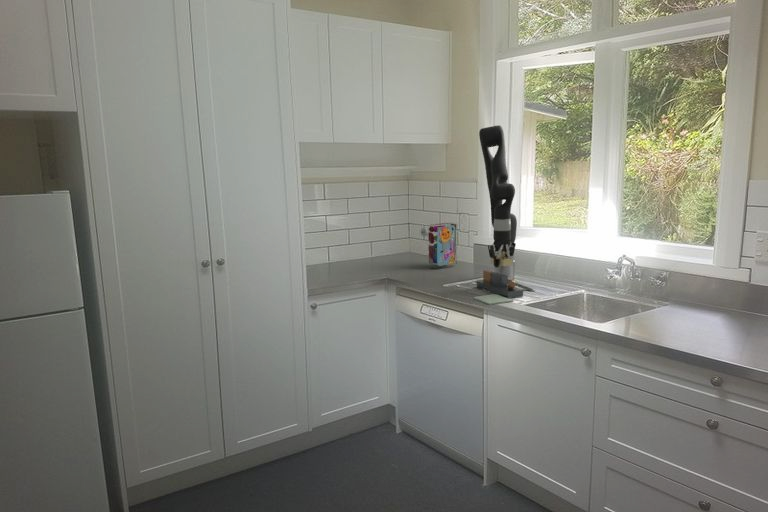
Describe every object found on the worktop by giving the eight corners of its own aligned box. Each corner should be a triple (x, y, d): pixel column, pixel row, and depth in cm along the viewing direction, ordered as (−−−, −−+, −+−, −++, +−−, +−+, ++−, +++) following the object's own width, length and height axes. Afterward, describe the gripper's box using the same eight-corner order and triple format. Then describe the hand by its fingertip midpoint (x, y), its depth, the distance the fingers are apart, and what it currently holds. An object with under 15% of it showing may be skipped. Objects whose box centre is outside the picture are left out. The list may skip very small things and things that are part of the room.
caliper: (495, 285, 265) (495, 272, 264) (496, 285, 266) (497, 272, 265) (534, 292, 251) (535, 278, 250) (535, 291, 252) (536, 278, 251)
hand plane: (490, 285, 264) (491, 269, 262) (523, 296, 242) (523, 278, 241) (476, 287, 261) (477, 270, 259) (507, 298, 239) (508, 280, 238)
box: (424, 272, 296) (424, 226, 292) (416, 270, 301) (416, 225, 297) (457, 266, 311) (457, 223, 307) (449, 264, 316) (449, 222, 312)
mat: (496, 295, 245) (496, 294, 245) (513, 301, 234) (513, 300, 234) (473, 298, 240) (473, 297, 240) (489, 304, 229) (489, 303, 229)
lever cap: (499, 261, 254) (500, 252, 253) (512, 265, 246) (512, 255, 245) (490, 262, 252) (491, 253, 251) (503, 266, 244) (503, 256, 243)
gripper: (509, 226, 253) (509, 263, 256) (483, 229, 247) (483, 266, 250) (520, 228, 246) (519, 266, 249) (494, 231, 240) (493, 269, 243)
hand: (501, 266), depth 249 cm, fingers closed on lever cap, 5 cm apart
